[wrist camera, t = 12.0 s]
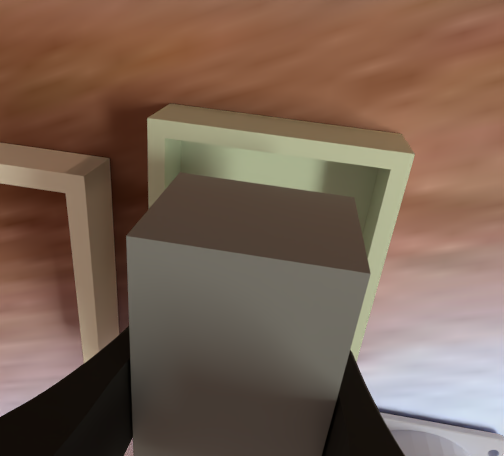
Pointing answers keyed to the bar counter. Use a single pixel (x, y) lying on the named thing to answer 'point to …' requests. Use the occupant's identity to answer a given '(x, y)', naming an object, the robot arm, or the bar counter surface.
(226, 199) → the block on a stick
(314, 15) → the bar counter surface
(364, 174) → the tray
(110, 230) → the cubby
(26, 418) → the robot arm
